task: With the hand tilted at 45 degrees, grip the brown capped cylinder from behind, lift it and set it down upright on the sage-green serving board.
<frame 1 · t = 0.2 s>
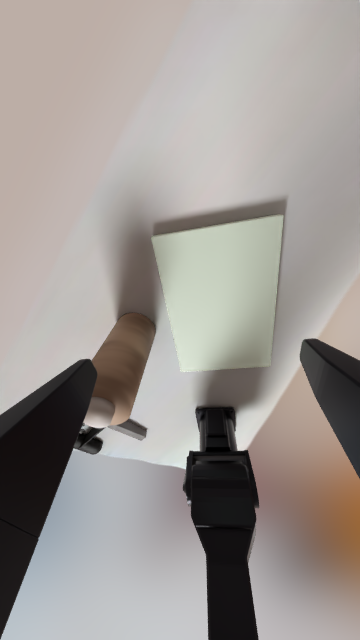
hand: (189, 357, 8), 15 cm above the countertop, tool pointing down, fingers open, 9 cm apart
door handle: (102, 418, 39), on the countertop
serving board: (219, 307, 24), on the countertop
brown capped cylinder: (136, 329, 26), on the countertop
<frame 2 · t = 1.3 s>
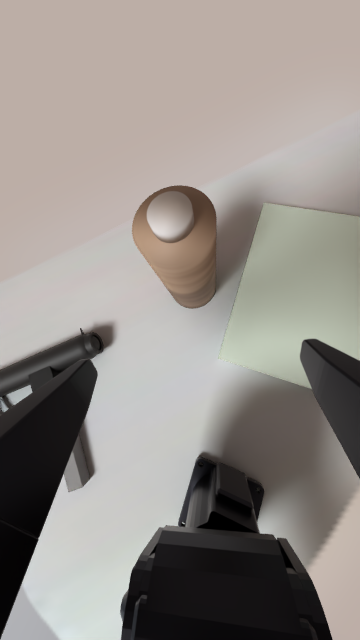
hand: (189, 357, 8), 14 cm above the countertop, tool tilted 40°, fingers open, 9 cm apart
door handle: (46, 415, 24), on the countertop
serving board: (297, 294, 21), on the countertop
brown capped cylinder: (193, 286, 23), on the countertop
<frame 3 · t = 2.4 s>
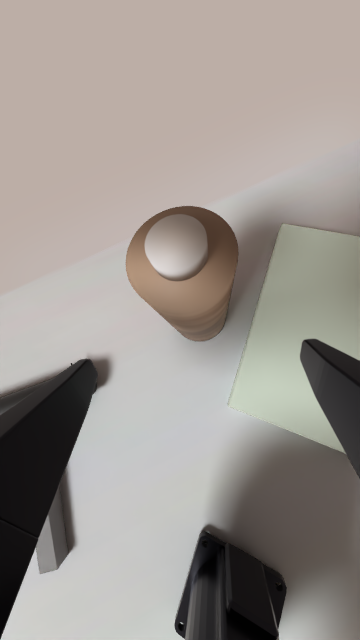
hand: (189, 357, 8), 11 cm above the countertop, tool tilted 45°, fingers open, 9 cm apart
door handle: (24, 463, 20), on the countertop
serving board: (322, 330, 18), on the countertop
brown capped cylinder: (199, 315, 20), on the countertop
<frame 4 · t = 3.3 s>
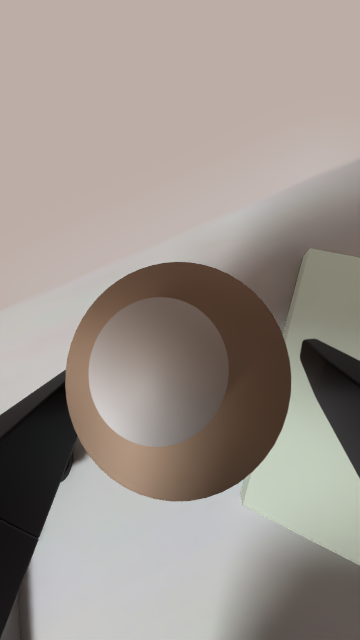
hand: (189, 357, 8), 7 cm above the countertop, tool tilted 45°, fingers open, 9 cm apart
brown capped cylinder: (201, 366, 16), on the countertop
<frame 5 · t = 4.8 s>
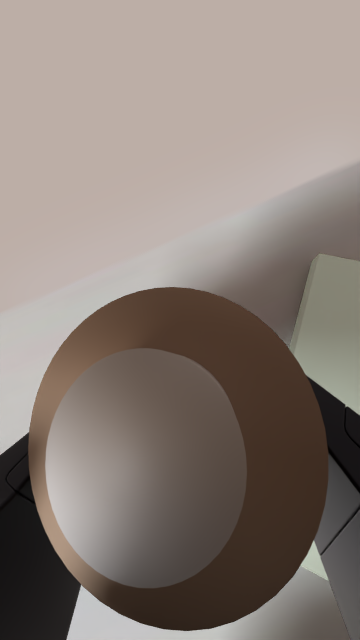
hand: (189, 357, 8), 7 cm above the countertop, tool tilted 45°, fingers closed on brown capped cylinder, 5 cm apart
brown capped cylinder: (202, 380, 14), on the countertop, touching gripper
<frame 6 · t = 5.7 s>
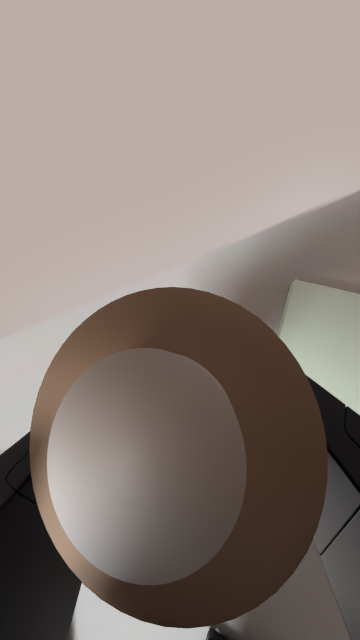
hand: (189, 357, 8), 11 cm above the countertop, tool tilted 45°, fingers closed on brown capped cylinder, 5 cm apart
serving board: (340, 400, 16), on the countertop
brown capped cylinder: (202, 380, 14), point 4 cm above the countertop, touching gripper
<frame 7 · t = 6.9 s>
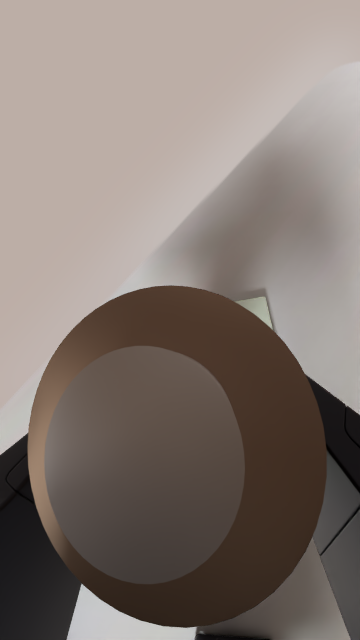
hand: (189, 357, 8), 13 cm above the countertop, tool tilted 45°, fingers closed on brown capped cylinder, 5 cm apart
serving board: (220, 391, 20), on the countertop
brown capped cylinder: (202, 379, 14), point 7 cm above the countertop, touching gripper
when the fingers open (9 cm above the countertop, at t = 8.8 s): brown capped cylinder drops 1 cm, resting on serving board.
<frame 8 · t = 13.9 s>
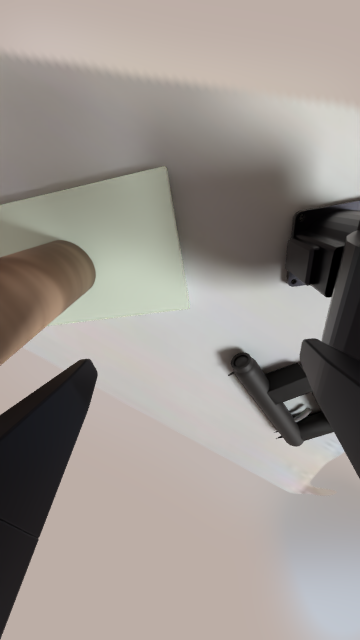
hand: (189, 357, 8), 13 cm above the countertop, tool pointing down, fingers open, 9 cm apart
door handle: (306, 381, 27), on the countertop
serving board: (92, 261, 20), on the countertop
brown capped cylinder: (68, 268, 19), point 1 cm above the countertop, touching serving board
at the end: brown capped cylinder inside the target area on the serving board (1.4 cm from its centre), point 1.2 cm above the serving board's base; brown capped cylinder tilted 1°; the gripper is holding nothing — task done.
